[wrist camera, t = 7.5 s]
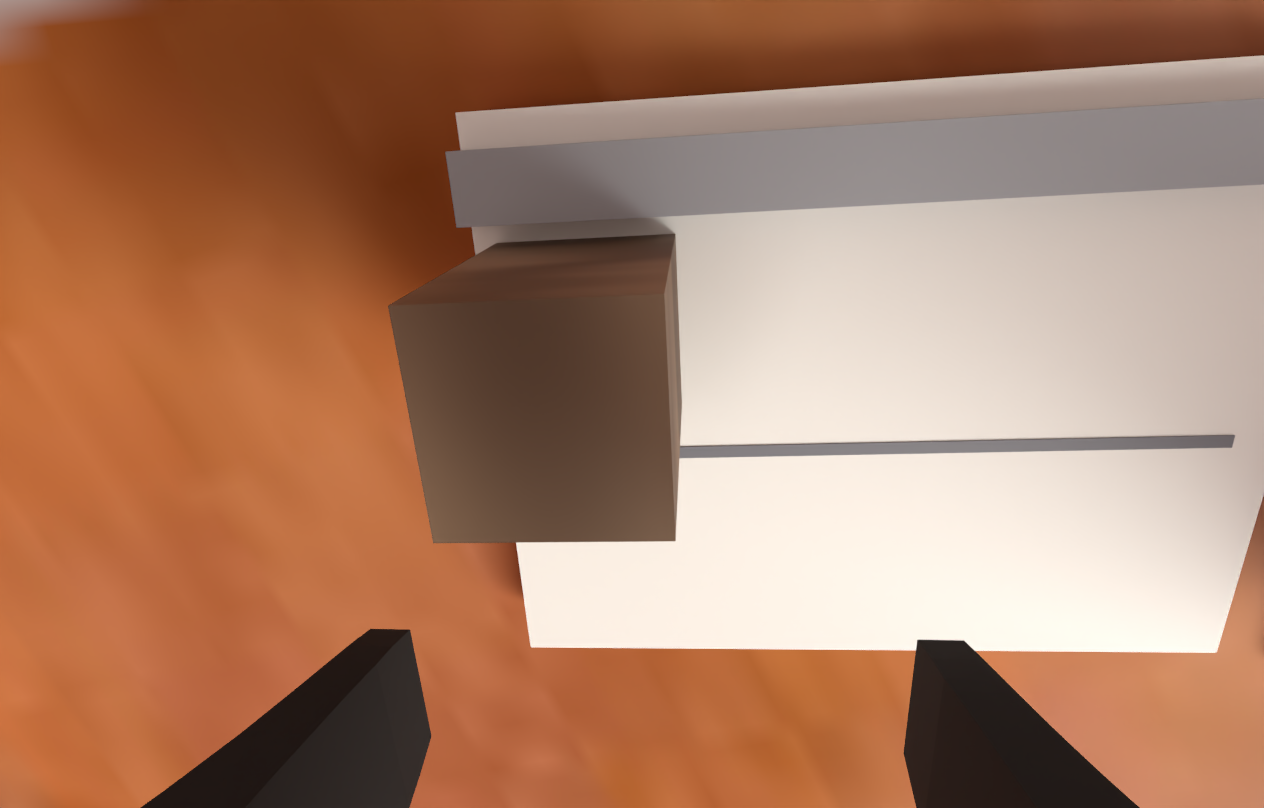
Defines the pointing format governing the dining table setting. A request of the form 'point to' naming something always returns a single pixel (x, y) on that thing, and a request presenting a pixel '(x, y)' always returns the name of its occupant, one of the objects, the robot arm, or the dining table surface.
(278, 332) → the dining table surface
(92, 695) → the dining table surface
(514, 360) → the block
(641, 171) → the board
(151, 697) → the dining table surface
